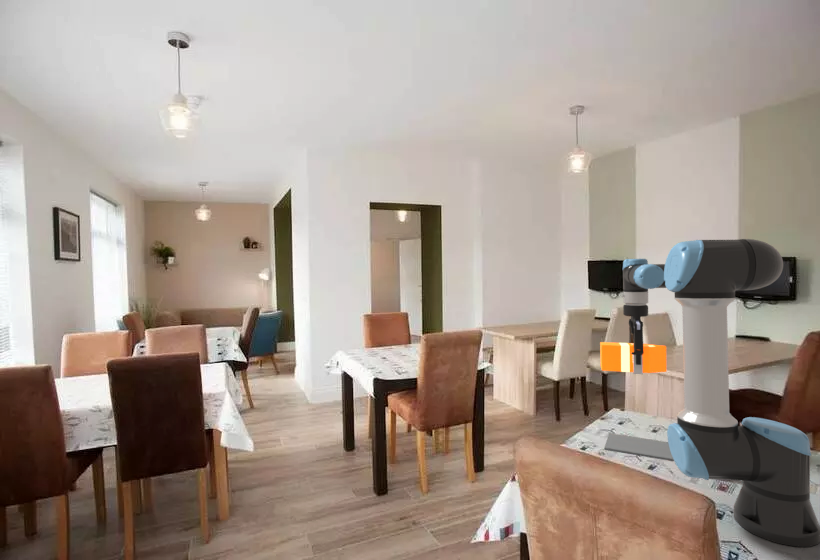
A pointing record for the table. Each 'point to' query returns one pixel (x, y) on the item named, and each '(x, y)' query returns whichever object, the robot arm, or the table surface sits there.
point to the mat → (638, 446)
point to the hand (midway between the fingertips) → (636, 370)
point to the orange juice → (631, 357)
